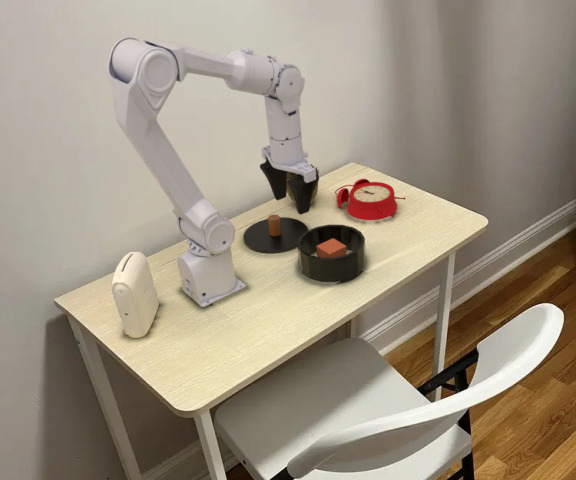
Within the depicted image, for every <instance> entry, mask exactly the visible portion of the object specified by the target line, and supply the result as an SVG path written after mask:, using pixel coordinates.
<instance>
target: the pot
mask: <svg viewBox="0 0 576 480" xmlns="http://www.w3.org/2000/svg"><path fill="white" fill-rule="evenodd" d="M333 238H334V239H335V240H337V241H339V242H340V243H342V244H344V245H345V246H346V249H347V251H351V252H349V253H347V255H344V256H339V257H334V258H321V257H317V255H313V254H316V253H317V248H316V246H317V245H320V244H322V243H324V242H326V241H328V240H330V239H333ZM296 248H297V255H298V266H299V267H298V268H299V269H300V272H301V274H302V275H304V276H305V277H306V278H308V279H309V280H313V281H315V282H320V283H335V285H341V284H346V283H349V282H351V281H353V280H355V279H357V278H358V277H359V276H361V274H363V272H364V269H365V265H366V237H365V236H364V234H363V233H362V231H361V230H359V229H357V228H355V227H353V226H349V225H345V224H324V225H320V226H319V225H318V226H316V227H313V228H311V229H308V231H306V232H305V233H304V234H303V235H302V236H301V237H300V238H299V241H298V244H297V247H296Z"/></svg>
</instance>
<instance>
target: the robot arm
mask: <svg viewBox="0 0 576 480" xmlns="http://www.w3.org/2000/svg"><path fill="white" fill-rule="evenodd" d="M142 41H143V42H142ZM142 41H141V40H139V39H138V38H135V37H132V36H125V37H122V38H120V39H118V40H117V41H116V42H115V43H114V44H113V45H112V47H111V49H110V52H109V55H108V61H107V64H106V68H105V73H106V75H107V78H108V80H109V82H110V84H111V92H112V101H113V107H114V113H115V115H114V116H115V120H116V122H117V124H118V126H119V128H120V129H121V131H122V132H123V134H124V136H125V137H126V139H128V141H129V142H130V144H131V145H132V146H133V148H134V150H135V151H136V152H137V154H138V155H139V157H140V158H141V160H142V162H143V163H144V164H145V166H146V167H147V169H148V170H149V172H150V173H151V174H152V176H153V177H154V180H156V181H157V183H158V185H159V186H160V188H161V189H162V191H163V192H164V194H165V195H166V197H167V198H168V199H169V201H170V203H171V204H172V205H173V208H172V212H173V214H174V215H175V217H176V222H177V228H178V230H179V232H180V234H182V235H184V236H185V237H186V239H187V243H188V249H187V250H186V251H185V252H184V253H182V255H180V256H179V257H177V267H178V271H179V275H180V279H181V283H182V288H181V289H182V291H183V292H184V293H185V294H186V295H187V296H188V297H190V298H191V300H193V301H194V302H195V303H196V304H197V305H198V306H200V307H201V308H205V307H208V306H210V305H212V304H213V303H214V302H215V301H217V300H220V299H222V298H224V297H226V296H228V295H230V294H231V295H232V294H233V293H235V292H237V291H239V290H241V289H244V288H246V286H247V285H246V283H244V282H243V281H241V280H240V279H239V278H237V276H236V272H235V271H236V270H235V265H234V261H233V254H232V244H233V243H234V240H235V236H236V229H235V226H234V224H233V222H232V221H231V220H229V219H228V218H225V217H224V216H222V215H221V212H220V211H219V210H218V209H217V208H216V207H215V206H214V205H213V204H212V203H211V202H210V201H209V200H208V199H207V198H206V197H205V196H204V193H203V191H201V189H200V188H199V185H198V184H197V183H196V181H195V180H194V178H193V176H192V175H191V173H190V171H189V170H188V169H187V166H186V165H185V163H184V162H183V160H182V158H181V157H180V155H179V154H178V153H177V151H176V149H175V148H174V146H173V144H172V143H171V141H170V140H169V138H168V137H167V135H166V133H165V131H164V130H163V128H162V127H161V126H160V123H159V122H158V119H157V118H158V115H159V113H160V111H161V110H162V108H163V107H164V105H165V103H166V101H167V99H168V98H169V96H170V94H171V92H172V91H173V89H174V87H175V85H176V82H178V83H182V82H183V81H184V79H185V78H186V76H187V75H188V74H194V75H200V76H205V77H211V78H216V79H223V81H224V83H225V85H226V87H227V88H229V89H230V90H232V91H237V92H243V93H248V94H253V95H258V96H263V99H264V107H265V116H266V124H267V131H268V141H269V145H267V146H263V147H261V149H260V150H261V158H262V159H263V160H265V162H263V163H260V164H259V168H260V171H262V173H263V174H264V176H265V178H266V179H267V181H268V183H269V186H270V189H271V192H272V194H273V197H274V198H275V201H280V200H282V199H285V198H287V195H288V193H287V183H288V184H289V186H290V188H291V190H292V192H293V195H294V198H295V202H294V204H295V203H296V205H295V208H296V211H297V214H298V215H303V214H307V213H308V212H310V209H311V206H310V203H311V198H312V194H313V191H314V188H315V186H316V184H317V182H318V183H319V181H320V175H317V174H316V170H315V169H314V168H315V167H314V168H313V167H312V166H311V164H310V162H309V161H308V159H307V158H308V157H309V152H307V151H305V150H304V149H303V148H304V147H303V138H302V135H303V134H302V125H301V113H300V112H301V111H300V108H301V107H300V106H301V97H302V93H303V91H304V88H305V82H306V80H305V77H303V76H302V73H301V70H300V69H298V66H296V65H295V64H292V63H289V62H287V61H283V60H280V59H277V57H276V56H274V55H272V54H267V55H266V56H264V55H263V56H262V55H258V54H255V53H254V50H253V49H251V48H248V47H245V46H243V47H242V48H241V50H238V49H236V50H233V51H231V52H230V53H229V54H228V55H226V56H224V55H220V54H218V53H217V54H216V53H213V52H209V51H206V50H202V49H198V48H194V47H192V46H187V45H184V44H180V43H177V42H172V41H166V40H159V39H158V40H157V39H150V38H142ZM287 171H288V172H293V173H295V174H297V178H293V179H291V180H288V181H287Z"/></svg>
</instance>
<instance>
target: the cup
mask: <svg viewBox="0 0 576 480" xmlns="http://www.w3.org/2000/svg"><path fill="white" fill-rule="evenodd" d="M310 165H311V166H312V167H313V168H314V169H315V170H316V174H317V175H319V173H320V171H319V170H320V169H318V167H317V166H314V165H313V164H310ZM319 176H320V175H319ZM293 178H297V174H295V173H293V172H288V171H287V181H288V180H291V179H293ZM318 189H319V181H318V182H317V184H316V186H315V188H314V191H313V194H312V198H311V203H310V207H311V206H312V204H313V200H314V199H315V198H316V196H317V194H318ZM287 195H288V198H289V199H290V200H291V201H292V202H293V203H294V205H295V206H296V203H295V198H294V195H293V192H292V190H291V188H290V186H289V184H288V183H287Z"/></svg>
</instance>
